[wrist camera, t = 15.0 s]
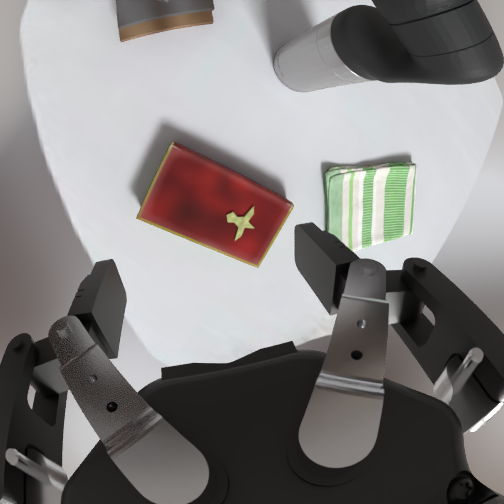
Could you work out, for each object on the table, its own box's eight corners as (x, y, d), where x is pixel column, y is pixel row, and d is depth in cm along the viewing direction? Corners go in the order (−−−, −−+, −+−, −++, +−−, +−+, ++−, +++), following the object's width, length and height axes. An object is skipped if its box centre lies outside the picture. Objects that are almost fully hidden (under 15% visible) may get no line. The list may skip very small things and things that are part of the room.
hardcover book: (172, 140, 37) (171, 141, 34) (285, 198, 46) (295, 204, 43) (139, 210, 40) (136, 218, 37) (251, 257, 49) (258, 268, 46)
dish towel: (319, 167, 46) (327, 170, 43) (410, 158, 50) (418, 160, 47) (323, 257, 54) (330, 263, 51) (406, 233, 58) (413, 237, 56)
